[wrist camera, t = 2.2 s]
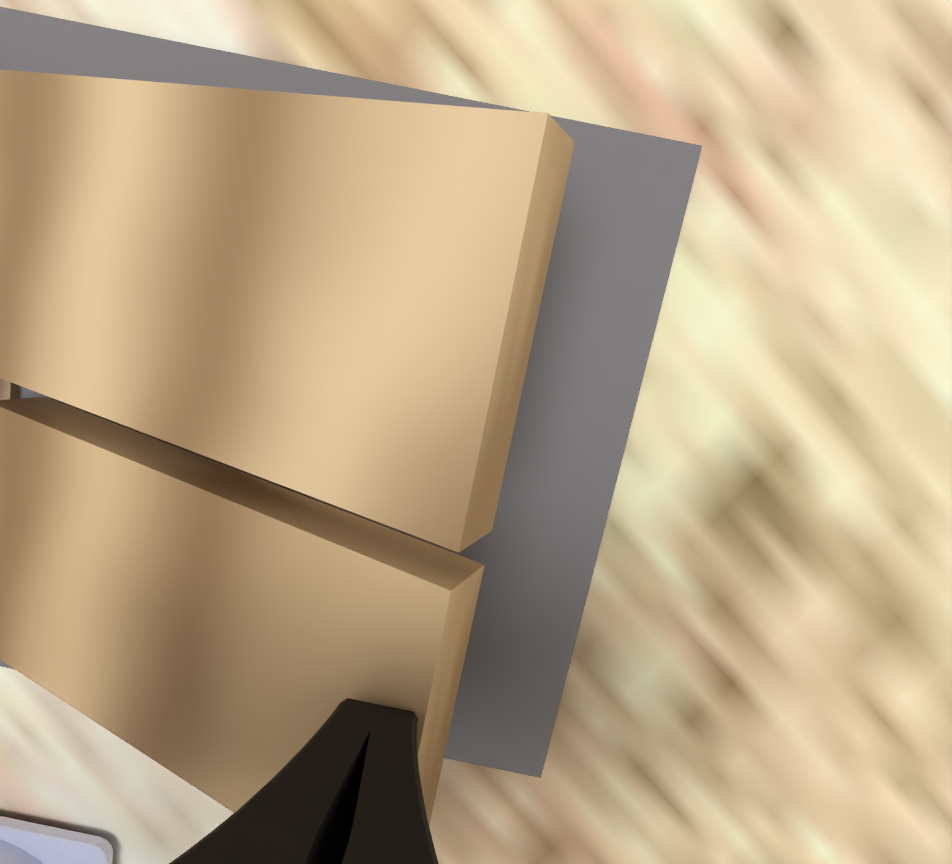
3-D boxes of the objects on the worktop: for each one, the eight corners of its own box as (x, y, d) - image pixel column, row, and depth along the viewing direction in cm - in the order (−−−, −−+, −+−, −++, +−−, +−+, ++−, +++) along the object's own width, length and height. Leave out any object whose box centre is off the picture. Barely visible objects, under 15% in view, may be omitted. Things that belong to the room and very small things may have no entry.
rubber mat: (539, 767, 19) (540, 777, 18) (-241, 606, 19) (-257, 613, 19) (696, 149, 15) (701, 145, 15) (-282, -44, 15) (-303, -53, 15)
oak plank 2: (35, 625, 18) (-20, 646, 17) (44, 396, 17) (-14, 400, 15) (422, 858, 13) (386, 911, 12) (485, 564, 12) (450, 591, 11)
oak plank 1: (45, 370, 17) (-14, 372, 15) (57, 91, 15) (-7, 69, 14) (491, 530, 12) (459, 553, 10) (574, 142, 10) (548, 113, 9)
